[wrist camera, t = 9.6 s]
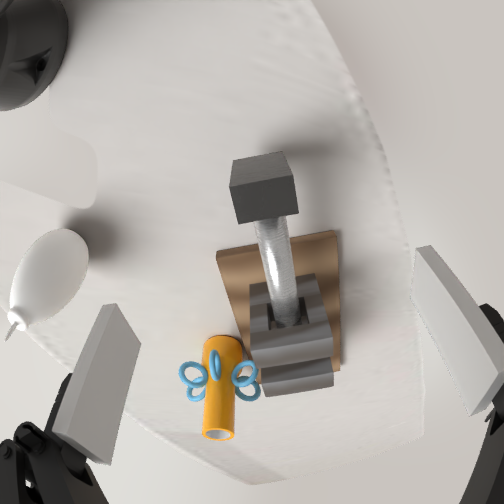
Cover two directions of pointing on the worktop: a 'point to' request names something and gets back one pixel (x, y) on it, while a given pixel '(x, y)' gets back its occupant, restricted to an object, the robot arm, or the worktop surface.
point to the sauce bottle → (47, 278)
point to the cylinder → (220, 385)
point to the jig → (311, 308)
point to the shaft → (270, 225)
